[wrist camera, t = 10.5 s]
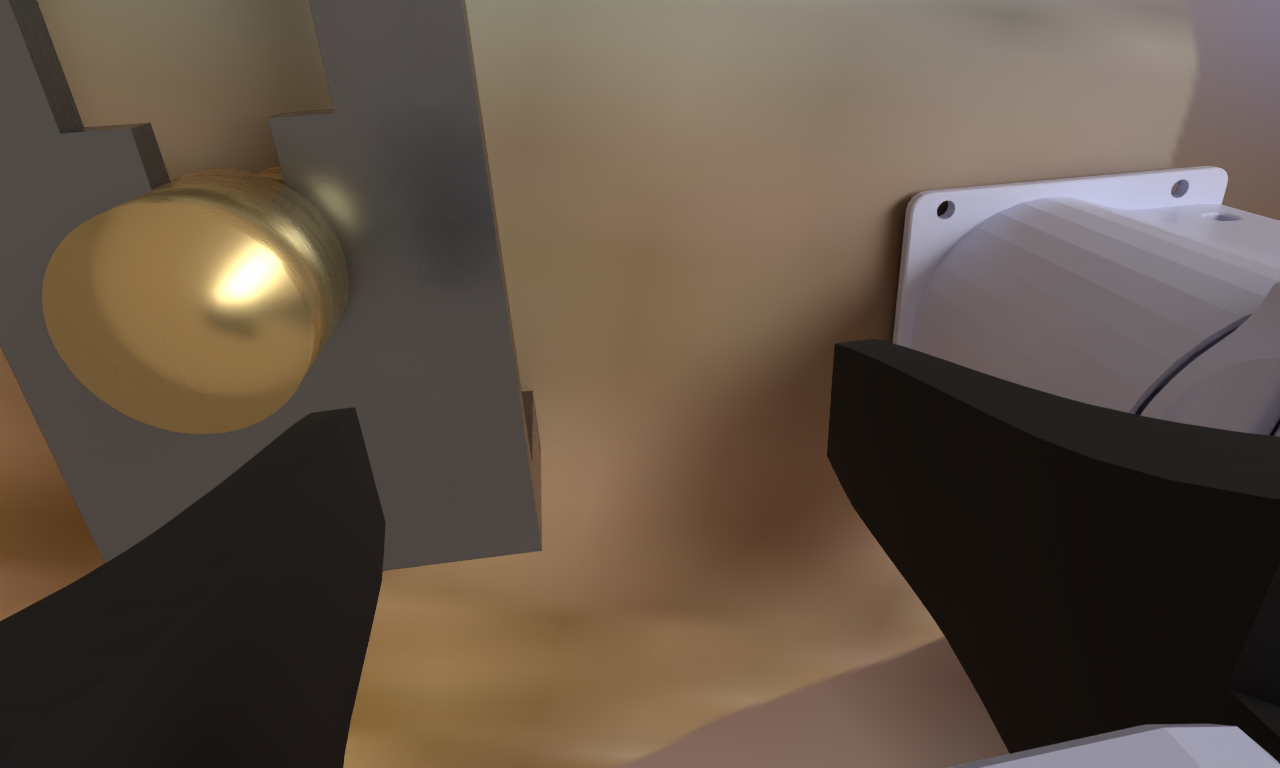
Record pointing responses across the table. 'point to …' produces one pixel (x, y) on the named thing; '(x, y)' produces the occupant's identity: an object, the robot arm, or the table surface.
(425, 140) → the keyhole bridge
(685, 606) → the table surface
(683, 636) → the table surface
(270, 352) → the peg
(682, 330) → the table surface
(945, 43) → the table surface
